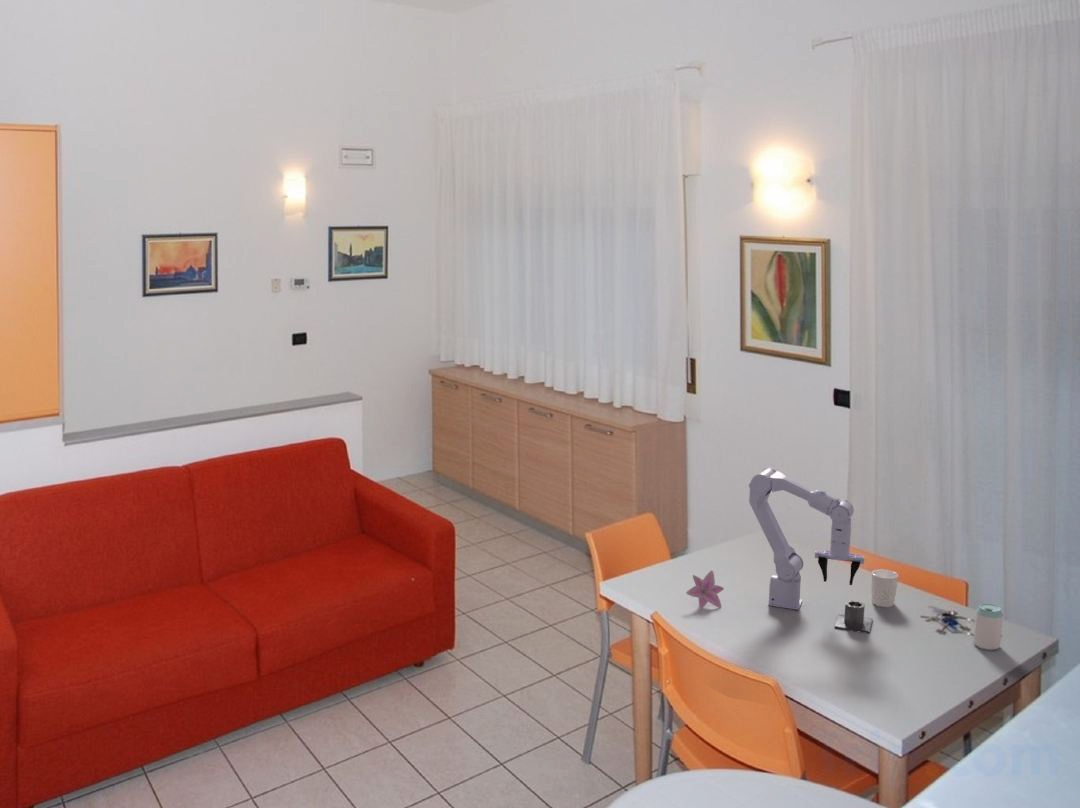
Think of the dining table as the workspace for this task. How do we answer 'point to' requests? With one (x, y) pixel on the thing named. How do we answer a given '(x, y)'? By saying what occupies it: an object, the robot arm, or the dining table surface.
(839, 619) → the post
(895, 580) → the white cup
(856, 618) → the tube
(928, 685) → the dining table surface
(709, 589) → the lily
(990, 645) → the can
